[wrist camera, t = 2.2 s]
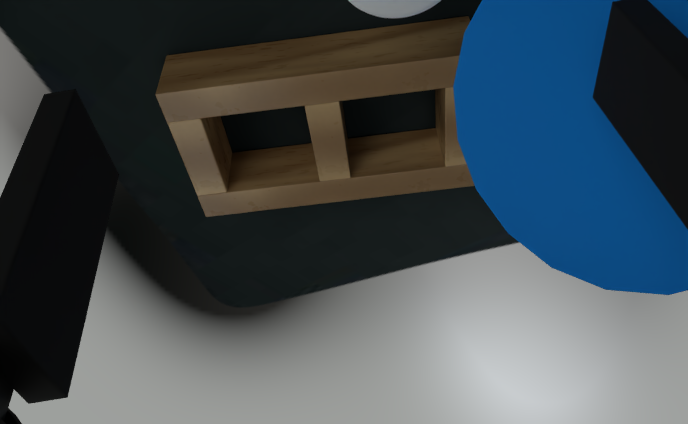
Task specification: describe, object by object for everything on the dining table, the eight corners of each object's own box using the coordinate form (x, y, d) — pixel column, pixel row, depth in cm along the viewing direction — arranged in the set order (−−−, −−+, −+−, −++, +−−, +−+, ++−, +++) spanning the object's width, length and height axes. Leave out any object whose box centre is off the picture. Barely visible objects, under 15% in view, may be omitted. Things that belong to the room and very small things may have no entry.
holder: (166, 55, 36) (155, 94, 34) (468, 15, 35) (482, 52, 33) (212, 176, 43) (205, 217, 41) (464, 146, 43) (475, 186, 40)
